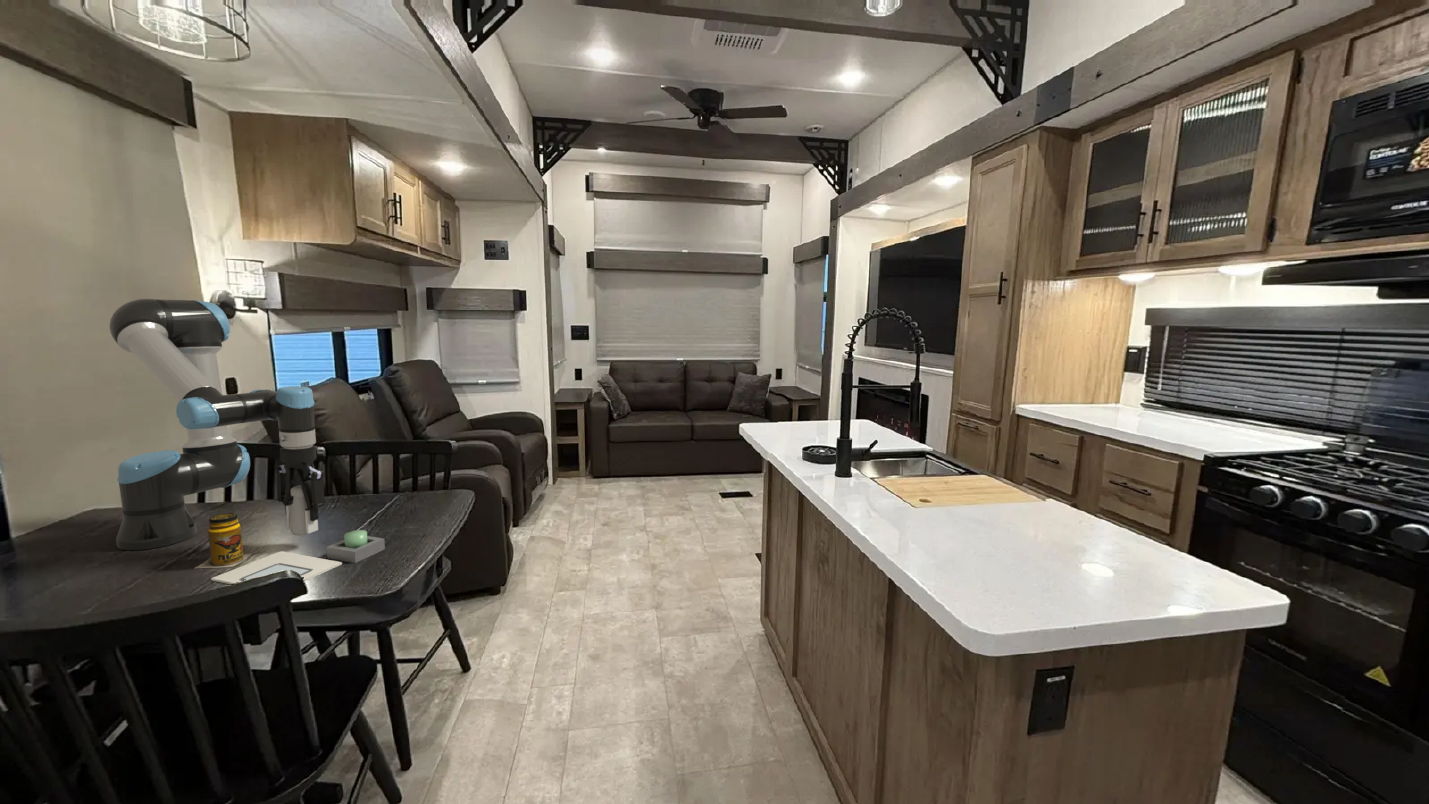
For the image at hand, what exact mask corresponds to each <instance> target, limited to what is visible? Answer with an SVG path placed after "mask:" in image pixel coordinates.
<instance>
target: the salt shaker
mask: <svg viewBox="0 0 1429 804" xmlns="http://www.w3.org/2000/svg"><path fill="white" fill-rule="evenodd" d="M291 496H294V499H293V505H292V511H291V517H290V522H289V529H290V530H289V531H291V534H292V535H294V536H305V535H306V536H307V535H309V534H308V533H306V521H305V509H307V505H306V501H305V498H304V494H303V491H302V487H301V486H300V485H298V486H294V487H293V488H291Z"/></svg>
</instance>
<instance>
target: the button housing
mask: <svg viewBox="0 0 1429 804" xmlns="http://www.w3.org/2000/svg"><path fill="white" fill-rule="evenodd" d="M367 542H368V543H367V544H365V545H363V546H360V547H358V548H356V549H354V548H348V547H345V541H344V539H343V540H339V541H338V542H336V543H332V544H331V545H328V546H326V556H327V557H326V558H327V559H329V560H330V559H331V560H334V561H340V562H346V563H353V564H357V563H359V562H361V561H363V560H365V559H367V558H369V557H371V556H374V555H376V554H378V553H380V552H382V551H385V550H386V545H385V544H386V543H385V538H382V537H377V536H369V535H367Z"/></svg>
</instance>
